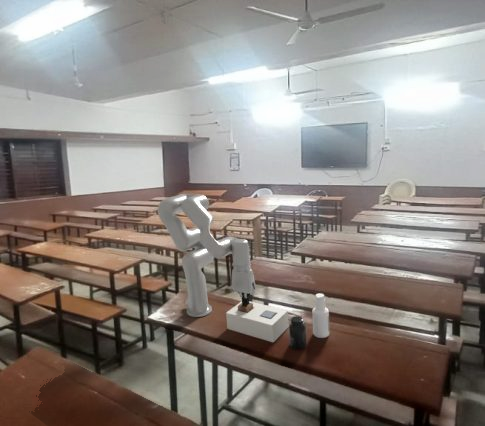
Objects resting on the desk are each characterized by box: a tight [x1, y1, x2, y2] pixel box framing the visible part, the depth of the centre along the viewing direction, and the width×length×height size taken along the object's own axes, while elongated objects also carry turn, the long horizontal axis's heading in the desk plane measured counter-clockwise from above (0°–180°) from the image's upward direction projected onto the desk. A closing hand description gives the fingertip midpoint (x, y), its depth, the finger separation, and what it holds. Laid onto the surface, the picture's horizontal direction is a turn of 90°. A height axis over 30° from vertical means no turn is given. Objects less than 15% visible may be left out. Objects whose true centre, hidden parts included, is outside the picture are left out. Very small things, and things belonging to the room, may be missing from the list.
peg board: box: [225, 300, 290, 343], centre depth 166 cm, size 24×14×8 cm, turn 55°
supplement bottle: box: [288, 315, 307, 351], centre depth 150 cm, size 7×7×12 cm
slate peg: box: [260, 310, 276, 319], centre depth 163 cm, size 5×5×6 cm
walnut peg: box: [238, 303, 253, 313], centre depth 169 cm, size 5×5×6 cm
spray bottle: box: [311, 293, 330, 339], centre depth 156 cm, size 7×7×18 cm
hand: (245, 304), depth 168 cm, fingers closed
